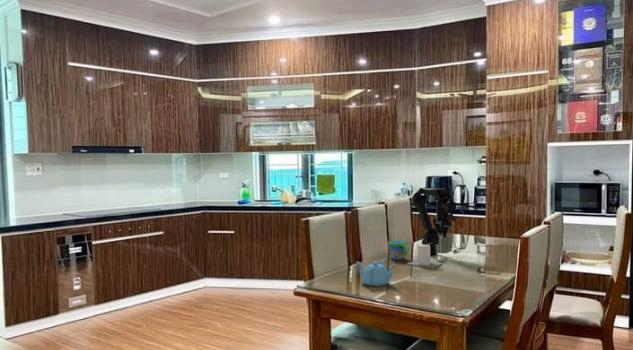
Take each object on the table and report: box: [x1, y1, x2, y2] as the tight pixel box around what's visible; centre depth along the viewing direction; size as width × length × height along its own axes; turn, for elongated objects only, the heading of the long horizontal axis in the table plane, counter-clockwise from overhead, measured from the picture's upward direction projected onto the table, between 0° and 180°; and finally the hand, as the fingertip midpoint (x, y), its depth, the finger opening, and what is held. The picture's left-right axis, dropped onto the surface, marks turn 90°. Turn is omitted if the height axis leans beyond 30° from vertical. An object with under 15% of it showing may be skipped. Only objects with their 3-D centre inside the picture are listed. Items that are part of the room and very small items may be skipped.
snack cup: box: [387, 240, 408, 261], centre depth 271 cm, size 16×10×10 cm
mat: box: [406, 259, 443, 269], centre depth 253 cm, size 16×10×1 cm, turn 46°
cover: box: [417, 244, 431, 265], centre depth 253 cm, size 6×6×10 cm
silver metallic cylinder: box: [436, 255, 444, 263], centre depth 260 cm, size 4×4×3 cm
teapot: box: [355, 258, 395, 287], centre depth 218 cm, size 15×15×10 cm
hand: (442, 236), depth 268 cm, fingers open, 9 cm apart
